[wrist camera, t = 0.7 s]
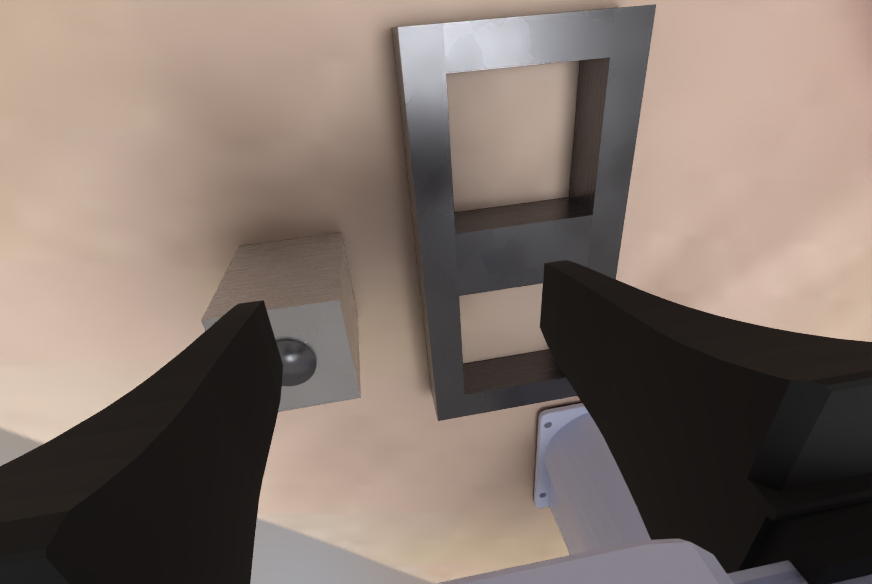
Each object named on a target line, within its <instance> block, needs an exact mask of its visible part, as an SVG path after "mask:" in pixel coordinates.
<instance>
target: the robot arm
mask: <svg viewBox="0 0 872 584" xmlns="http://www.w3.org/2000/svg"><path fill="white" fill-rule="evenodd" d="M540 328H541V331H542V333H543V335H544V338H545V340H546V342H547V345H548V347H549V349H550V351H551V353H552V355H553V357H554V359H555V361H556V362H557V364H558V366H559V367H560V369H561V370H562V372H563V374H564V375H565V377H566V378H567V380H568V381H569V383H570V385H571V386H572V388H573V389H574V391H575V392H576V394H577V395H578V397H579V398H580V400H581V402H582V403H580V404H574V405H569V406H563V407H558V408H552V409H547V410H544V411H542V412H541V413H540V414H539V419H538V436H537V453H536V471H535V488H534V503H535V506H536V507H537V508H544V507H549V506H550V508H551V511H552V513H553V516H554V518H555V520H556V523H557V525H558V527H559V530H560V532H561V535H562V537H563V539H564V542H565V544H566V546H567V549H568V551H569V553H570V555H569V556H565V557H560V558H555V559H550V560H546V561H541V562H536V563H531V564H526V565H522V566H517V567H512V568H507V569H503V570H498V571H493V572H488V573H484V574H479V575H474V576H469V577H464V578H460V579H455V580H450V581H445V582H441V583H437V584H872V342H865V341H855V340H845V339H836V338H829V337H822V336H816V335H809V334H802V333H796V332H790V331H785V330H779V329H774V328H768V327H764V326H759V325H755V324H750V323H746V322H741V321H736V320H732V319H728V318H724V317H720V316H717V315H713V314H710V313H706V312H703V311H700V310H696V309H693V308H689V307H686V306H683V305H680V304H677V303H674V302H671V301H669V300H666V299H663V298H660V297H658V296H655V295H652V294H649V293H647V292H644V291H642V290H639V289H637V288H635V287H632V286H630V285H627V284H625V283H623V282H620V281H618V280H616V279H613V278H611V277H609V276H606V275H604V274H602V273H599V272H597V271H595V270H592V269H590V268H588V267H585V266H583V265H580V264H577V263H575V262H571V261H568V260H564V261H556V262H549V263H544V277H543V291H542V305H541V320H540ZM282 375H283V363H282V360H281V356H280V353H279V350H278V346H277V343H276V340H275V336H274V333H273V330H272V326H271V323H270V320H269V316H268V313H267V310H266V306H265V303H264V300H262V301H254V302H247V303H239V304H237V305H236V306H234V307H233V308H232V309H230V310H229V311H228V312H227V313H226V314H224V315H223V316H222V317H221V318H220V319H219V320H218V321H217V322H215V323H214V324H213V325H212V326H211V327H210V328H209V329H208V330H206V331H205V332H204V333H203V334H202V335H201V336H200V337H198V338H197V339H196V340H195V341H194V342H193V343H192V344H190V345H189V346H188V347H187V348H186V349H185V350H183V351H182V352H181V353H180V354H178V355H177V356H176V357H175V358H173V359H172V360H171V361H170V362H168V363H167V364H166V365H165V366H164V367H162V368H161V369H160V370H159V371H157V372H156V373H155V374H154V375H152V376H151V377H150V378H148V379H147V380H146V381H144V382H143V383H142V384H140V385H139V386H137V387H136V388H135V389H133V390H132V391H130V392H129V393H127V394H126V395H124V396H123V397H121V398H120V399H118V400H117V401H115V402H114V403H112V404H111V405H109V406H108V407H106V408H105V409H103V410H102V411H100V412H98V413H97V414H95V415H93V416H91V417H90V418H88V419H86V420H85V421H83V422H81V423H80V424H78V425H76V426H74V427H73V428H71V429H69V430H68V431H66V432H64V433H62V434H61V435H59V436H57V437H56V438H54V439H52V440H50V441H49V442H47V443H45V444H43V445H41V446H39V447H37V448H36V449H33V450H32V451H30V452H28V453H26V454H24V455H22V456H20V457H18V458H16V459H14V460H12V461H10V462H8V463H6V464H4V465H2V466H0V584H250V579H251V569H252V558H253V547H254V537H255V529H256V520H257V512H258V503H259V496H260V490H261V485H262V479H263V475H264V471H265V466H266V462H267V458H268V453H269V449H270V445H271V440H272V436H273V432H274V427H275V423H276V418H277V414H278V409H279V405H280V400H281V389H282ZM547 422H548V423H547Z"/></svg>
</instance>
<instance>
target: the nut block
mask: <svg viewBox="0 0 872 584" xmlns="http://www.w3.org/2000/svg"><path fill="white" fill-rule="evenodd" d="M262 300H264V303H265V306H266V310H267V313H268V316H269V320H270V323H271V326H272V330H273V333H274V336H275V340H276V343H277V346H278V350H279V353H280V356H281V360H282V363H283V375H282V389H281V400H280V405H279V409H278V412H280V411H286V410H292V409H298V408H303V407H309V406H315V405H321V404H326V403H332V402H338V401H344V400H350V399H355V398H361V393H360V361H359V329H358V312H357V307H356V302H355V297H354V292H353V287H352V282H351V277H350V272H349V267H348V262H347V257H346V251H345V246H344V241H343V236H342V232H341V233H334V234H326V235H319V236H311V237H304V238H296V239H289V240H282V241H274V242H267V243H259V244H252V245H244V246H239V248H238V250H237V252H236V254H235V255H234V257H233V259H232V261H231V263H230V265H229V267H228V269H227V271H226V273H225V275H224V277H223V279H222V281H221V283H220V285H219V287H218V289H217V291H216V292H215V294H214V296H213V298H212V300H211V302H210V304H209V306H208V308H207V310H206V312H205V314H204V316H203V318H202V320H201V321H202V323H203V326H204V328H205V331H206V330H208V329H209V328H210V327H211V326H212V325H213V324H214V323H215V322H217V321H218V320H219V319H220V318H221V317H222V316H223V315H224V314H226V313H227V312H228V311H229V310H230V309H232V308H233V307H234V306H236V305H237V304H239V303H247V302H254V301H262Z"/></svg>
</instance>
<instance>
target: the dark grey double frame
mask: <svg viewBox="0 0 872 584" xmlns="http://www.w3.org/2000/svg"><path fill="white" fill-rule="evenodd" d="M655 9H656V5H645V6H633V7H622V8H611V9H599V10H588V11H576V12H565V13H553V14H542V15H530V16H519V17H508V18H496V19H485V20H473V21H462V22H450V23H439V24H428V25H416V26H405V27H394V28H392V34H393V43H394V53H395V62H396V71H397V80H398V90H399V99H400V108H401V117H402V126H403V136H404V145H405V154H406V163H407V173H408V182H409V191H410V200H411V210H412V219H413V228H414V237H415V246H416V256H417V265H418V274H419V283H420V293H421V302H422V311H423V320H424V330H425V339H426V348H427V357H428V366H429V376H430V385H431V392H432V396H433V401H434V405H435V410H436V414H437V418H438V421H440V420H446V419H451V418H457V417H462V416H468V415H473V414H479V413H484V412H490V411H495V410H501V409H506V408H512V407H518V406H523V405H529V404H534V403H540V402H545V401H551V400H556V399H562V398H567V397H573V396H578V395H577V394H576V392H575V391H574V389H573V388H572V386H571V385H570V383H569V381H568V380H567V378H566V377H565V375H564V374H563V372H562V370H561V369H560V367H559V366H558V364H557V362H556V361H555V359H554V357H553V355H552V353H551V351H550V350H544V351H539V352H533V353H527V354H521V355H515V356H509V357H503V358H497V359H491V360H485V361H479V362H473V363H467V364H463V359H462V342H461V325H460V307H459V296H461V295H468V294H474V293H481V292H487V291H494V290H500V289H507V288H513V287H520V286H527V285H533V284H540V283H543V277H544V263H549V262H556V261H564V260H568V261H571V262H575V263H577V264H580V265H583V266H585V267H588V268H590V269H592V270H595V271H597V272H599V273H602V274H604V275H606V276H609V277H611V278H613V279H616V273H617V266H618V259H619V252H620V246H621V239H622V232H623V225H624V219H625V212H626V205H627V198H628V191H629V185H630V178H631V171H632V164H633V158H634V151H635V144H636V137H637V130H638V124H639V117H640V110H641V103H642V97H643V90H644V83H645V76H646V70H647V63H648V56H649V49H650V42H651V36H652V29H653V22H654V15H655ZM578 60H580V67H579V80H578V93H577V105H576V118H575V131H574V143H573V156H572V169H571V181H570V194H569V198H561V199H554V200H546V201H539V202H531V203H523V204H516V205H508V206H501V207H493V208H486V209H478V210H471V211H463V212H456V213H454V203H453V186H452V169H451V151H450V134H449V117H448V99H447V82H446V74H447V73H457V72H467V71H477V70H487V69H498V68H508V67H518V66H528V65H538V64H548V63H558V62H568V61H578Z"/></svg>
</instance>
